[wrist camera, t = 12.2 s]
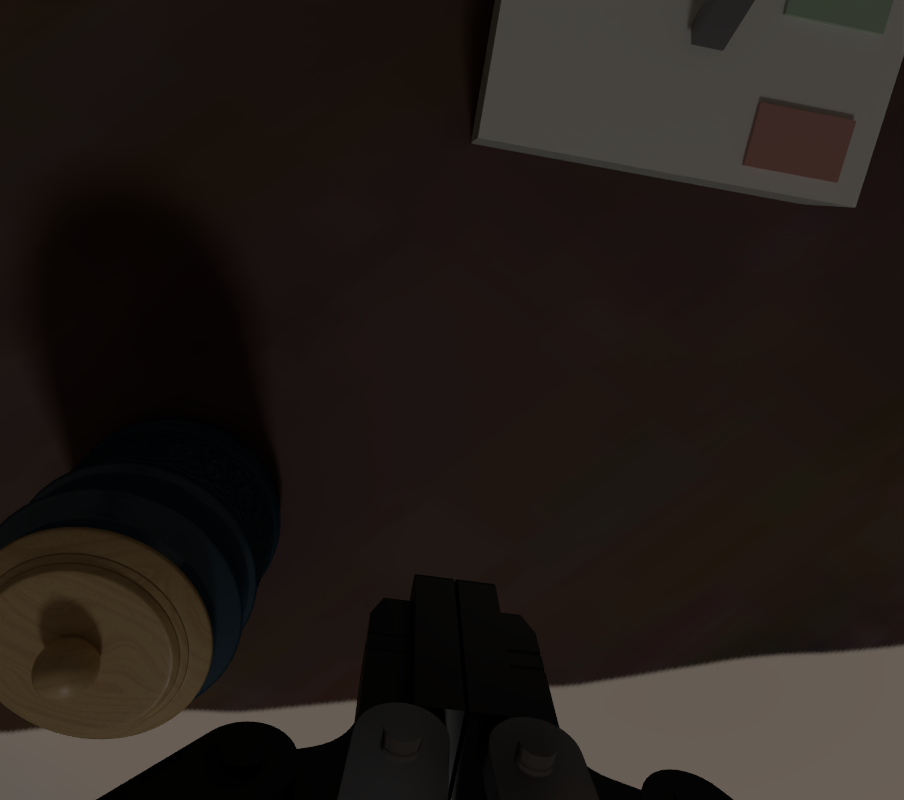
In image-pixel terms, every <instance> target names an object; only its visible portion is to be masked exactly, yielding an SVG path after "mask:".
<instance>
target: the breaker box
mask: <svg viewBox="0 0 904 800" xmlns="http://www.w3.org/2000/svg"><path fill="white" fill-rule="evenodd" d="M704 1H705V0H495V2H494V8H493V14H492V20H491V26H490V32H489V38H488V44H487V50H486V56H485V62H484V68H483V74H482V80H481V86H480V91H479V97H478V103H477V109H476V115H475V121H474V127H473V133H472V139H471V143H472V144H478V145H483V146H489V147H494V148H500V149H505V150H510V151H516V152H521V153H527V154H532V155H538V156H543V157H549V158H554V159H559V160H565V161H570V162H576V163H581V164H587V165H592V166H597V167H603V168H608V169H614V170H619V171H625V172H630V173H636V174H641V175H646V176H652V177H657V178H663V179H668V180H674V181H679V182H684V183H690V184H695V185H701V186H706V187H712V188H717V189H723V190H728V191H733V192H739V193H744V194H750V195H755V196H761V197H766V198H772V199H777V200H782V201H788V202H793V203H799V204H808V205H823V206H839V207H856V204H857V201H858V197H859V194H860V191H861V188H862V185H863V182H864V179H865V175H866V172H867V169H868V166H869V163H870V160H871V157H872V153H873V150H874V147H875V144H876V141H877V138H878V135H879V131H880V128H881V125H882V122H883V119H884V116H885V112H886V109H887V106H888V103H889V100H890V97H891V94H892V90H893V87H894V84H895V81H896V78H897V75H898V72H899V68H900V65H901V62H902V59H903V56H904V0H755V1H754V3H753V4H752V6H751V8H750V9H749V11H748V12H747V14H746V15H745V17H744V19H743V20H742V22H741V23H740V25H739V27H738V28H737V30H736V31H735V33H734V34H733V36H732V38H731V39H730V41H729V42H728V44H727V46H726V47H725V49H724V50H723V51H721V50H716V49H711V48H706V47H701V46H696V45H691V24H692V23H693V21H694V19H695V17H696V15H697V14H698V12H699V10H700V8H701V6H702V5H703V3H704Z"/></svg>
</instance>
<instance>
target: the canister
mask: <svg viewBox="0 0 904 800" xmlns="http://www.w3.org/2000/svg"><path fill="white" fill-rule="evenodd" d="M279 535H280V505H279V498H278V494H277V490H276V487H275V484H274V481H273V479H272V477H271V475H270V473H269V471H268V469H267V468H266V466H265V465H264V463H263V462H262V461H261V459H260V458H259V457H258V456H257V455H256V453H255V452H254V451H253V450H252V449H251V448H250V447H249V446H248V445H246V444H245V443H244V442H243V441H241V440H240V439H239V438H237V437H236V436H234V435H233V434H231V433H229V432H227V431H226V430H224V429H222V428H219V427H217V426H215V425H212V424H209V423H206V422H203V421H199V420H194V419H187V418H159V419H153V420H149V421H145V422H142V423H138V424H134V425H131V426H128V427H126V428H124V429H121V430H119V431H117V432H115V433H113V434H112V435H110V436H109V437H107V438H105V439H104V440H103V441H102V442H100V443H99V444H98V445H96V446H95V447H94V448H93V449H92V450H91V451H89V452H88V453H87V454H86V456H85V457H84V458H83V459H82V460H81V462H80V463H79V464H78V465H77V466H76V467H75V468H74V469H72V470H71V471H70V472H69V473H66V474H64V475H63V476H61V477H59V478H57V479H56V480H54V481H52V482H51V483H49V484H48V485H47V486H46V487H44V488H43V489H42V490H41V491H40V492H39V493H38V494H37V495H36V496H35V497H34V498H33V499H32V500H31V501H30V503H29V504H27V505H25V506H23V507H22V508H20V509H19V510H17V511H16V512H14V513H13V514H12V515H11V516H9V517H8V518H7V519H6V520H5V521H4V522H3V523H2V524H0V702H1V703H2V704H4V705H5V706H6V707H7V708H9V709H10V710H11V711H13V712H14V713H16V714H17V715H19V716H20V717H22V718H24V719H26V720H27V721H29V722H31V723H33V724H35V725H37V726H40V727H42V728H45V729H47V730H50V731H53V732H56V733H60V734H63V735H68V736H72V737H78V738H88V739H114V738H122V737H128V736H133V735H137V734H140V733H143V732H146V731H149V730H151V729H154V728H156V727H158V726H160V725H162V724H164V723H166V722H167V721H169V720H171V719H172V718H173V717H175V716H176V715H177V714H179V713H180V712H181V711H182V710H183V709H184V708H185V707H186V706H187V705H188V704H189V703H190V702H191V701H192V700H194V699H196V698H197V697H198V696H200V695H201V694H203V693H204V692H205V691H206V690H208V689H209V688H210V687H211V686H212V685H213V684H214V683H215V682H216V681H217V680H218V679H219V678H220V677H221V675H222V674H223V673H224V671H225V670H226V669H227V667H228V666H229V664H230V662H231V661H232V659H233V657H234V654H235V652H236V650H237V647H238V644H239V641H240V637H241V632H242V630H243V628H244V626H245V625H246V623H247V621H248V619H249V617H250V615H251V612H252V609H253V606H254V602H255V598H256V592H257V588H258V585H259V583H260V580H261V578H262V577H263V575H264V574H265V572H266V570H267V569H268V567H269V565H270V563H271V561H272V558H273V556H274V553H275V550H276V547H277V544H278V540H279Z"/></svg>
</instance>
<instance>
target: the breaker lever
mask: <svg viewBox="0 0 904 800" xmlns="http://www.w3.org/2000/svg"><path fill="white" fill-rule="evenodd" d="M754 1H755V0H705V1H704V3H703V5H702V6H701V8H700V10H699V12H698V14H697V15H696V17H695V19H694V21H693V23H692V24H691V45H696V46H701V47H706V48H711V49H716V50H721V51H723V50H724V49H725V47H726V46H727V44H728V42H729V41H730V39H731V38H732V36H733V34H734V33H735V31H736V30H737V28H738V27H739V25H740V23H741V22H742V20H743V19H744V17H745V15H746V14H747V12H748V11H749V9H750V8H751V6H752V4H753V3H754Z"/></svg>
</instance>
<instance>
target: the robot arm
mask: <svg viewBox="0 0 904 800" xmlns="http://www.w3.org/2000/svg"><path fill="white" fill-rule="evenodd" d="M97 800H733V799H732V798H731V797H729V796H728V795H727V794H725V793H724V792H723V791H721V790H720V789H719V788H717V787H716V786H715V785H713V784H712V783H710V782H708V781H707V780H705V779H703V778H701V777H699V776H697V775H694V774H691V773H688V772H685V771H680V770H661V771H657V772H655V773H653V774H651V775H650V776H649V777H648V778H646V780H645V782H644V783H643V787H642V790H639V789H637V788H634V787H631V786H629V785H626V784H623V783H621V782H618V781H615V780H612V779H610V778H608V777H605V776H603V775H601V774H599V773H597V772H595V771H593V770H592V769H590V768H589V767H587V765H586V763H585V760H584V758H583V755H582V752H581V750H580V748H579V746H578V745H577V744H576V742H575V741H574V740H573V739H572V738H571V737H570V736H569V735H568V734H567V733H566V732H564V731H563V730H562V729H560V728H559V725H558V721H557V717H556V713H555V709H554V705H553V701H552V697H551V693H550V689H549V685H548V681H547V677H546V673H544V665H543V661H542V657H541V656H540V649H539V645H538V641H537V637H536V633H535V632H534V631H533V630H532V628H531V627H530V626H529V625H528V624H527V623H526V621H525V620H524V619H523V618H522V617H521V615H517V614H509V613H501V612H500V607H499V602H498V596H497V591H496V586H495V585H494V584H488V583H480V582H473V581H465V580H456V581H455V583H454V579H449V578H441V577H433V576H426V575H418V574H415V576H414V580H413V585H412V591H411V596H410V601H405V600H398V599H390V598H383V599H382V600H381V602H380V603H379V604H378V605H377V606H376V607H375V608H374V609H373V611H372V612H371V613H370V619H369V626H368V632H367V638H366V645H365V651H364V657H363V663H362V670H361V676H360V682H359V690H358V698H357V707H356V715H355V723H354V724H353V725H352V727H351V728H350V729H349V730H348V731H347V732H346V733H345V734H343V735H342V736H340V737H339V738H337V739H335V740H333V741H331V742H328V743H325V744H322V745H318V746H314V747H308V748H301V749H296V747H295V745H294V743H293V741H292V740H291V739H290V738H289V737H288V736H287V735H286V734H285V733H284V732H282V731H281V730H279V729H277V728H275V727H273V726H271V725H268V724H264V723H259V722H236V723H231V724H227V725H224V726H221V727H218V728H216V729H214V730H212V731H210V732H209V733H207V734H205V735H204V736H202V737H200V738H199V739H197V740H195V741H194V742H192V743H190V744H189V745H187V746H185V747H184V748H182V749H180V750H179V751H177V752H175V753H174V754H172V755H170V756H169V757H167V758H165V759H164V760H162V761H160V762H159V763H157V764H155V765H153V766H152V767H150V768H148V769H147V770H145V771H143V772H142V773H140V774H139V775H137V776H135V777H133V778H132V779H130V780H128V781H127V782H125V783H124V784H122V785H120V786H118V787H117V788H115V789H114V790H112V791H110V792H108V793H107V794H105V795H103V796H102V797H100V798H98V799H97Z"/></svg>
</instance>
